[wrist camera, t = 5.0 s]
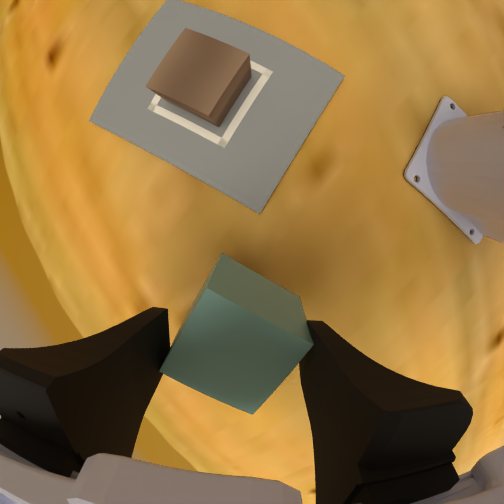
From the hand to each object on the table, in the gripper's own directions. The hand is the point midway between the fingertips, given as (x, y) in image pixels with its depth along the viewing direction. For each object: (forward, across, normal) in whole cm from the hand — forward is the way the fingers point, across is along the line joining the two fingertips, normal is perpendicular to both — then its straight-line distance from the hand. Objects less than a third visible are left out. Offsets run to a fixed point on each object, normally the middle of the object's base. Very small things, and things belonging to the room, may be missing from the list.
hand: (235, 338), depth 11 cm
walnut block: (+9, +3, -12) cm, 15 cm away
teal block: (+2, 0, 0) cm, 2 cm away
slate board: (+9, +3, -12) cm, 15 cm away
